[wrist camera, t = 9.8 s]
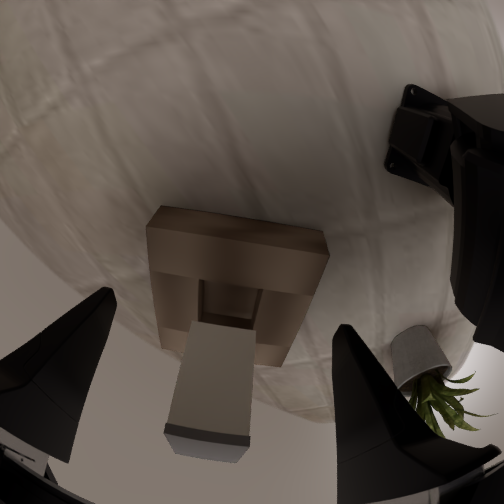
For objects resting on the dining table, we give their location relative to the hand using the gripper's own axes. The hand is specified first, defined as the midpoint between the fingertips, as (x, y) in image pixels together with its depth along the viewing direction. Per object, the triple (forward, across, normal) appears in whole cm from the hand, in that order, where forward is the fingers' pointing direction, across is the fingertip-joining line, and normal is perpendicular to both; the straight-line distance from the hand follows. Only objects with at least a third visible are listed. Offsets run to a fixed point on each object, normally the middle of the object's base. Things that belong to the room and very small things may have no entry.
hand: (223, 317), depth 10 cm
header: (+10, 0, +9) cm, 13 cm away
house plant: (+11, -21, +15) cm, 28 cm away
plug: (+4, 0, +9) cm, 10 cm away
